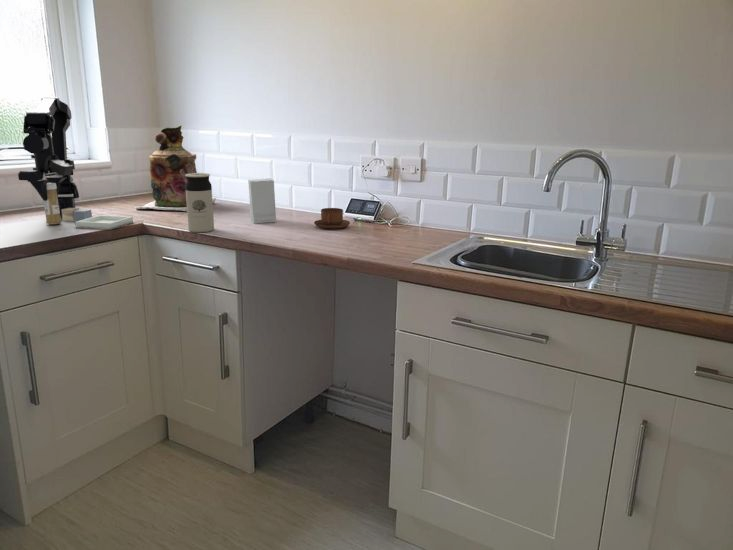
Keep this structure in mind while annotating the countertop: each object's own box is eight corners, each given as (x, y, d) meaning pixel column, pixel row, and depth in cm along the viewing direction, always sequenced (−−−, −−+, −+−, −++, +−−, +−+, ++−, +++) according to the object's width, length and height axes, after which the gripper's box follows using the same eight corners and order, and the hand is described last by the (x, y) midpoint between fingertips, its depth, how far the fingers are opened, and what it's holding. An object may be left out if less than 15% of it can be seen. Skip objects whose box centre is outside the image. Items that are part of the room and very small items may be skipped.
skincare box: (273, 219, 203) (271, 178, 199) (276, 222, 198) (275, 179, 193) (249, 221, 200) (247, 178, 196) (252, 224, 195) (250, 180, 191)
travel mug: (193, 227, 187) (189, 172, 182) (217, 228, 187) (213, 173, 182) (185, 232, 179) (180, 175, 174) (210, 233, 179) (206, 175, 174)
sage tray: (100, 220, 197) (99, 215, 196) (133, 222, 195) (132, 216, 194) (76, 227, 185) (75, 221, 184) (111, 229, 183) (110, 223, 182)
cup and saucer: (352, 230, 186) (352, 212, 185) (315, 231, 184) (315, 212, 183) (347, 224, 198) (347, 206, 196) (313, 224, 196) (312, 207, 194)
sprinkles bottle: (62, 223, 189) (56, 183, 185) (46, 225, 187) (40, 184, 183) (60, 221, 193) (55, 182, 189) (45, 222, 190) (39, 182, 187)
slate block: (82, 220, 198) (80, 209, 197) (92, 221, 197) (91, 209, 196) (74, 222, 194) (73, 211, 193) (85, 223, 193) (83, 211, 192)
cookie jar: (163, 201, 242) (156, 124, 234) (218, 203, 239) (213, 125, 230) (132, 210, 219) (124, 125, 210) (193, 212, 216) (186, 126, 207)
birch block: (70, 218, 201) (69, 207, 199) (80, 219, 200) (79, 208, 199) (62, 220, 197) (61, 209, 196) (73, 221, 196) (71, 209, 195)
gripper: (45, 154, 173) (52, 204, 177) (84, 150, 191) (90, 196, 195) (13, 153, 175) (21, 203, 179) (55, 149, 193) (61, 195, 197)
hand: (50, 199), depth 187 cm, fingers closed on sprinkles bottle, 4 cm apart
